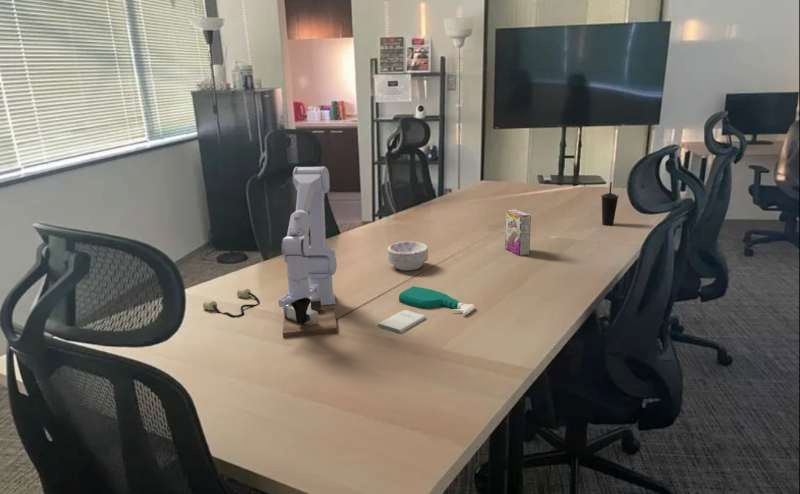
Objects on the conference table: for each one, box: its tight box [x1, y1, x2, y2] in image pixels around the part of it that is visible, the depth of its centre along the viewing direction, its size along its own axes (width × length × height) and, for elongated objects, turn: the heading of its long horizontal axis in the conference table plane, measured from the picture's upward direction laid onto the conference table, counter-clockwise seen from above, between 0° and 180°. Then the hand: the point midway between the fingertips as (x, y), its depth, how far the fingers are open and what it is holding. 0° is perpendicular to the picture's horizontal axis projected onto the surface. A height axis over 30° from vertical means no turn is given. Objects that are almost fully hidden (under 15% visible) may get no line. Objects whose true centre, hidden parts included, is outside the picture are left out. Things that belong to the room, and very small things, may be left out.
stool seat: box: [282, 298, 338, 339], centre depth 164 cm, size 15×15×5 cm
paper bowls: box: [387, 241, 429, 271], centre depth 212 cm, size 15×15×8 cm
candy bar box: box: [504, 208, 532, 257], centre depth 225 cm, size 11×5×16 cm, turn 22°
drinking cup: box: [600, 181, 619, 227], centre depth 262 cm, size 8×8×20 cm
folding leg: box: [282, 304, 319, 326], centre depth 163 cm, size 12×3×4 cm, turn 51°
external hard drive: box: [377, 309, 427, 334], centre depth 164 cm, size 2×8×12 cm
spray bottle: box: [398, 285, 475, 317], centre depth 176 cm, size 3×11×24 cm
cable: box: [202, 287, 261, 318], centre depth 180 cm, size 16×16×4 cm
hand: (301, 322), depth 160 cm, fingers closed, pressing on folding leg
